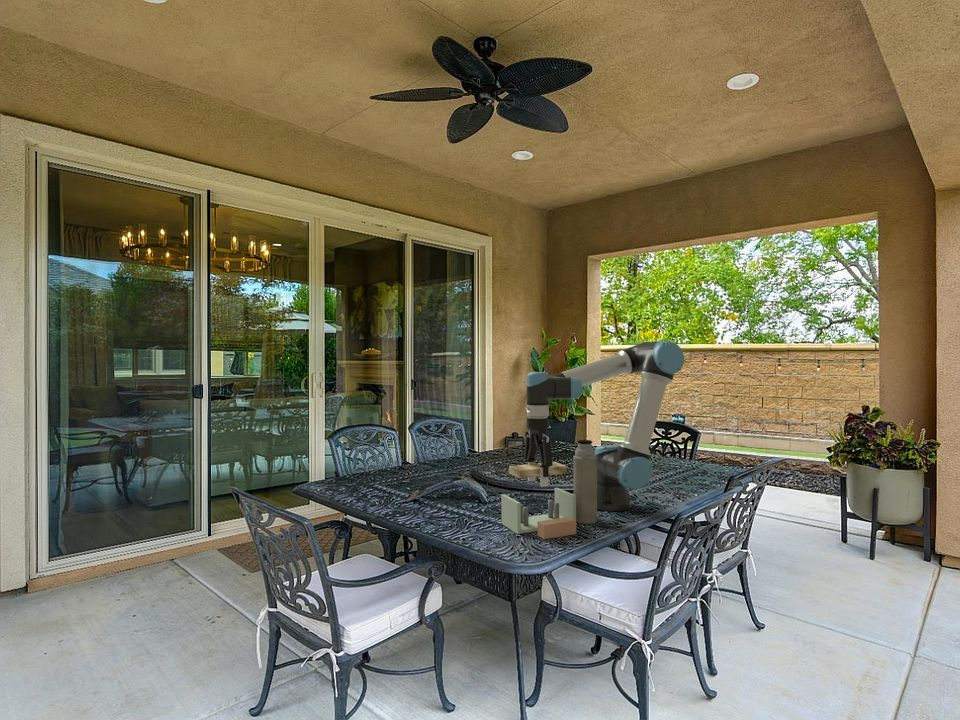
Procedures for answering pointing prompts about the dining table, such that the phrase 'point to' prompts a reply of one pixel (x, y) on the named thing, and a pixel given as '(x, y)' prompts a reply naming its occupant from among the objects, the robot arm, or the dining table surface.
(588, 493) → the thermos bottle
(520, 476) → the oak shelf board
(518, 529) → the peg frame
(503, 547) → the dining table surface
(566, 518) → the terracotta brick
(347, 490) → the dining table surface
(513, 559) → the dining table surface
